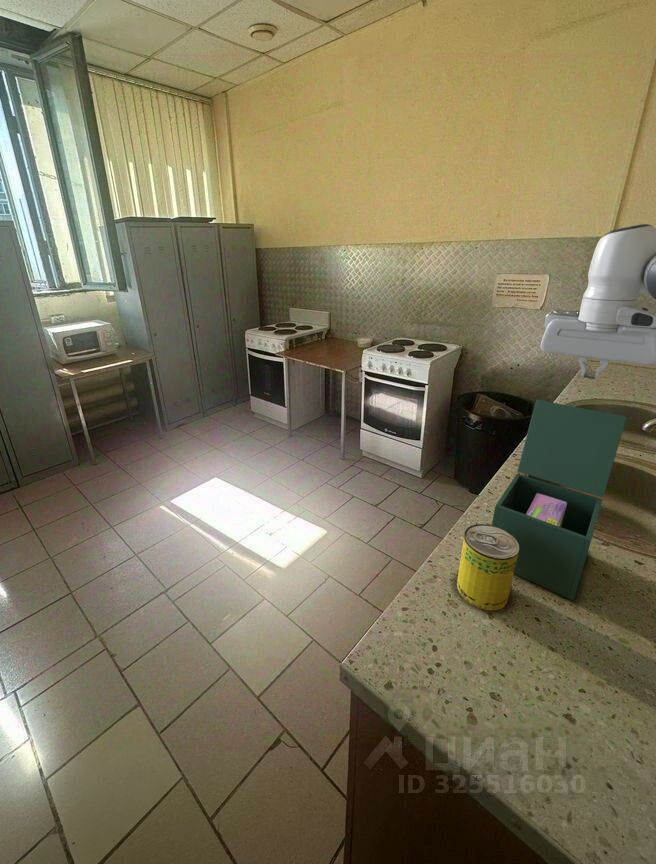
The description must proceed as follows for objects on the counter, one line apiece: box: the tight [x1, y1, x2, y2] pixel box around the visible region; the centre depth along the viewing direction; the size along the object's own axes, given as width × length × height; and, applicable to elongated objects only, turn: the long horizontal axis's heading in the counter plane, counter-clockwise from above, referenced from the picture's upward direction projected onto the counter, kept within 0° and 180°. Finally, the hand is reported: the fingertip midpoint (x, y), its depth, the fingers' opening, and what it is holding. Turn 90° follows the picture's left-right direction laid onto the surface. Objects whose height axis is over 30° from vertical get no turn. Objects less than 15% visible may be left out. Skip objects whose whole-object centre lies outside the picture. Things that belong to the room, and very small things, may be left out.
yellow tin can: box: [456, 523, 519, 611], centre depth 73 cm, size 9×9×12 cm
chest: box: [491, 472, 603, 601], centre depth 81 cm, size 16×16×14 cm
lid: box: [516, 399, 628, 498], centre depth 83 cm, size 17×16×1 cm
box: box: [526, 493, 567, 527], centre depth 80 cm, size 10×6×12 cm, turn 139°
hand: (589, 377), depth 85 cm, fingers closed
